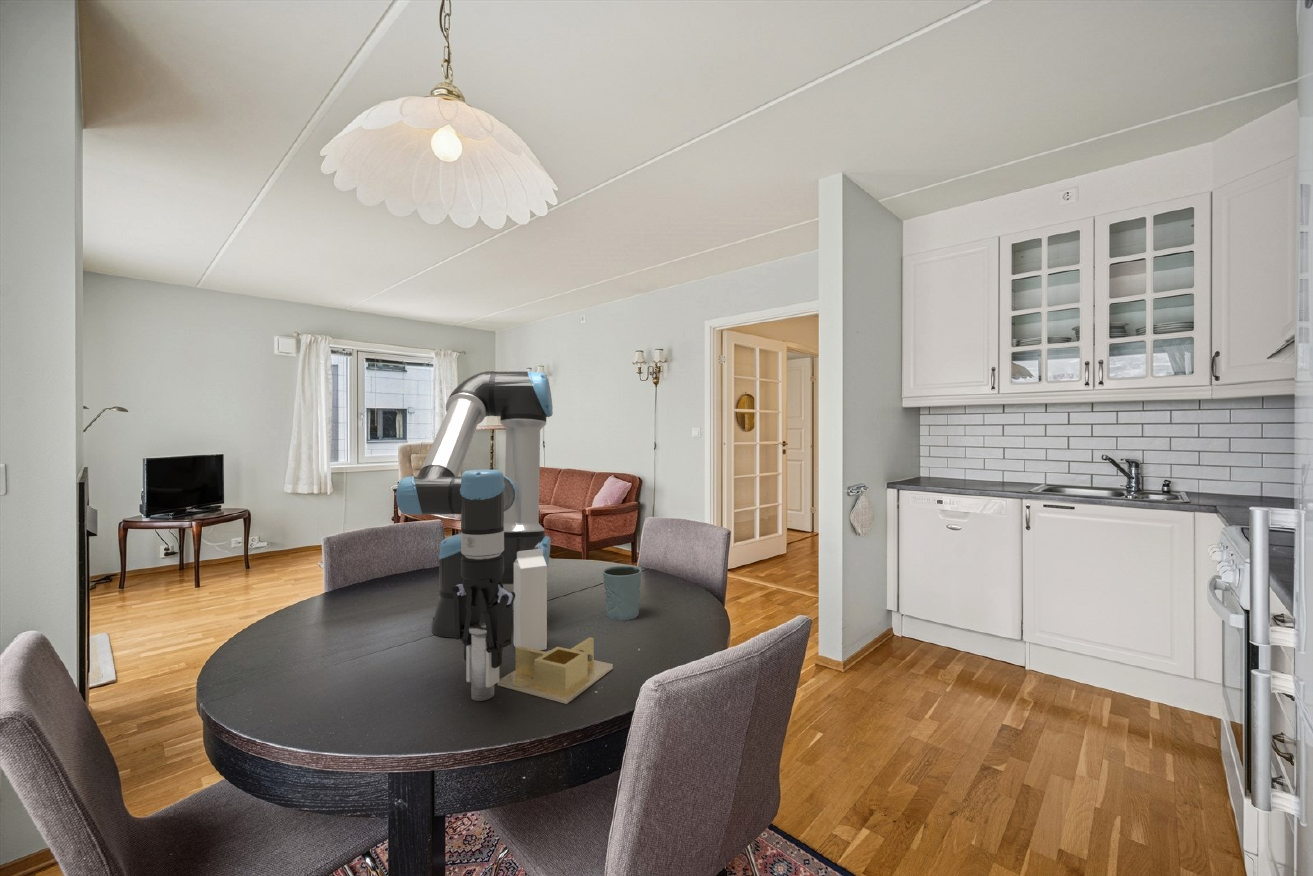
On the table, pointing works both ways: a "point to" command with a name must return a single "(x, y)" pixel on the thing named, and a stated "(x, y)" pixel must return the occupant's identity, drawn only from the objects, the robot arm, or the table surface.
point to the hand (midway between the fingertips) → (482, 681)
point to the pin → (479, 663)
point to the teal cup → (622, 592)
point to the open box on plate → (556, 671)
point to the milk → (530, 600)
